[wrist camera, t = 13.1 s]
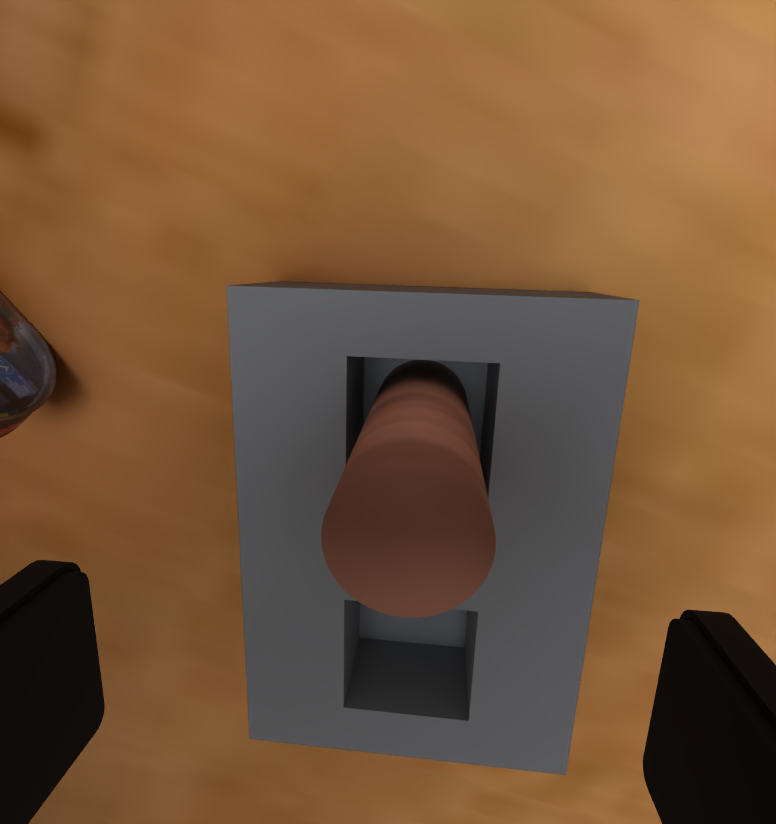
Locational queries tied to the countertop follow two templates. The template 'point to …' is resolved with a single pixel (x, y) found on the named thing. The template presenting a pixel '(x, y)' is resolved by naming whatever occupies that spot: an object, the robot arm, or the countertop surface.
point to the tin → (22, 368)
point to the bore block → (508, 498)
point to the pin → (412, 500)
